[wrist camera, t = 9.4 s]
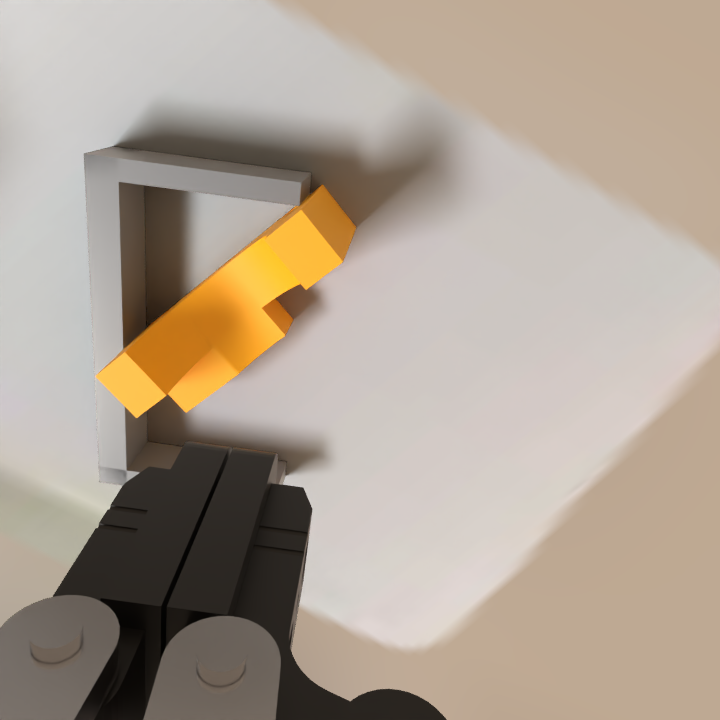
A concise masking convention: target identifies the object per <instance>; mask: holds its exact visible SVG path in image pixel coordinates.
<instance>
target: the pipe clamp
mask: <svg viewBox="0 0 720 720" xmlns="http://www.w3.org/2000/svg"><path fill="white" fill-rule="evenodd" d="M355 230H356V226H355V225H354V224H353V223H352V221H351V220H350V219H349V218H348V216H347V215H346V214H345V212H344V211H343V210H342V209H341V207H340V206H339V205H338V203H337V202H336V201H335V200H334V198H333V197H332V196H331V194H330V193H329V192H328V191H327V189H326V188H325V187H324V185H323V184H322V185H321V186H320V187H319V188H317V189H316V190H315V191H314V192H312V193H311V194H310V195H309V196H308V197H307V198H306V199H305V200H304V201H303V203H302V204H301V205H300V206H295V207H294V208H293V209H291V210H290V211H289V212H288V213H287V214H285V215H284V216H283V217H282V218H280V219H279V220H278V221H277V222H275V223H274V224H273V225H272V226H271V227H269V228H268V229H267V230H266V231H264V232H263V233H262V234H261V235H259V236H258V237H257V238H256V239H255V240H253V241H252V242H251V243H250V244H248V245H247V246H246V247H245V248H243V249H242V250H241V251H240V252H239V253H237V254H236V255H235V256H234V257H232V258H231V259H230V260H229V261H227V262H226V263H225V264H224V265H223V266H221V267H220V268H219V269H218V270H216V271H215V272H214V273H213V274H211V275H210V276H209V277H208V278H207V279H205V280H204V281H203V282H202V283H200V284H199V285H198V286H197V287H195V288H194V289H193V290H192V291H191V292H189V293H188V294H187V295H186V296H184V297H183V298H182V299H181V300H179V301H178V302H177V303H176V304H175V305H173V306H172V307H171V308H170V309H168V310H167V311H166V312H165V313H163V314H162V315H161V316H160V317H159V318H157V319H156V320H155V321H154V322H152V323H151V324H150V325H149V326H148V327H146V328H145V329H144V330H143V331H142V332H141V333H140V334H139V335H138V336H137V337H136V338H135V339H134V340H133V341H132V342H131V343H130V344H129V345H127V346H126V347H125V348H124V349H123V350H122V351H121V352H120V353H119V354H118V355H117V356H116V357H115V358H114V359H113V360H112V361H111V362H110V363H108V364H107V365H106V366H105V367H104V368H103V369H102V370H101V371H100V372H99V373H98V374H97V375H96V376H95V377H96V378H97V379H98V380H99V381H100V382H101V383H102V384H103V385H104V386H105V387H106V388H107V389H108V390H109V391H110V392H111V393H112V394H113V395H114V396H115V397H116V398H117V399H118V400H119V401H120V402H121V403H122V404H123V405H124V406H125V407H126V408H127V409H128V410H129V411H130V412H131V413H132V414H133V415H134V416H135V417H136V418H138V417H139V416H140V415H142V414H143V413H144V412H145V411H147V410H148V409H149V408H151V407H152V406H153V405H155V404H156V403H157V402H159V401H160V400H161V399H163V398H164V397H165V396H167V394H168V395H169V396H170V397H171V398H172V399H173V400H174V401H175V402H176V403H177V404H178V405H179V406H180V407H181V408H182V409H183V410H184V411H185V412H188V411H189V410H190V409H192V408H193V407H194V406H196V405H197V404H199V403H200V402H201V401H203V400H204V399H205V398H207V397H208V396H209V395H211V394H212V393H213V392H215V391H216V390H218V389H219V388H220V387H222V386H223V385H224V384H226V383H227V382H228V381H230V380H231V379H232V378H234V377H235V376H237V375H238V374H239V373H240V372H241V371H242V370H243V369H244V368H245V367H247V366H248V365H249V364H250V363H251V362H252V361H253V360H255V359H256V358H257V357H258V356H259V355H261V354H262V353H263V352H264V351H266V350H267V349H268V348H269V347H271V346H272V345H273V344H275V343H276V342H277V341H279V340H280V339H281V338H283V337H284V336H285V335H286V333H287V331H288V329H289V327H290V325H291V323H292V321H293V319H292V317H291V316H290V315H289V314H288V313H287V312H286V310H285V309H284V308H283V307H282V306H281V304H280V303H279V302H278V301H277V300H276V299H275V298H276V297H278V296H279V295H281V294H282V293H284V292H286V291H287V290H289V289H291V288H293V287H295V286H297V285H299V284H301V285H302V286H303V287H304V288H305V290H306V289H308V288H309V287H310V286H312V285H313V284H314V283H316V282H317V281H318V280H320V279H321V278H322V277H324V276H325V275H326V274H328V273H329V272H330V271H332V270H333V269H334V268H336V267H337V266H338V265H339V264H341V263H342V262H343V260H344V258H345V255H346V253H347V250H348V248H349V245H350V243H351V240H352V238H353V235H354V232H355Z"/></svg>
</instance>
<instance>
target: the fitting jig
mask: <svg viewBox="0 0 720 720" xmlns="http://www.w3.org/2000/svg"><path fill="white" fill-rule="evenodd" d="M84 168H85V189H86V210H87V231H88V252H89V273H90V295H91V316H92V337H93V358H94V379H95V400H96V421H97V443H98V464H99V482H102V483H108V484H115V485H122V486H123V485H124V483H126V482H127V481H129V480H130V479H131V478H133V477H134V476H136V475H137V474H139V473H140V472H142V471H143V470H145V469H146V468H148V467H149V466H150V467H157V468H164V469H171V467H172V466H173V464H174V462H175V460H176V458H177V456H178V455H179V453H180V451H181V449H182V446H175V445H168V444H161V443H154V442H147V411H145V412H144V413H143V414H142V415H140V416H139V417H138V418H136V417H135V416H134V415H133V414H132V413H131V412H130V411H129V410H128V409H127V408H126V407H125V406H124V405H123V404H122V403H121V402H120V401H119V400H118V399H117V398H116V397H115V396H114V395H113V394H112V393H111V392H110V391H109V390H108V389H107V388H106V387H105V386H104V385H103V384H102V383H101V382H100V381H99V380H98V379H97V378H96V377H95V376H96V375H97V374H98V373H99V372H100V371H101V370H102V369H103V368H104V367H105V366H106V365H107V364H108V363H110V362H111V361H112V360H113V359H114V358H115V357H116V356H117V355H118V354H119V353H120V352H121V351H122V350H123V349H124V348H125V347H126V346H127V345H129V344H130V343H131V342H132V341H133V340H134V339H135V338H136V337H137V336H138V335H139V334H140V333H141V332H142V331H143V330H144V329H145V328H146V279H145V198H144V185H147V186H154V187H161V188H169V189H176V190H184V191H191V192H199V193H206V194H213V195H221V196H228V197H236V198H243V199H250V200H258V201H265V202H273V203H280V204H287V205H295V206H300V205H301V204H302V203H303V201H304V200H305V199H306V198H307V197H308V196H309V194H310V184H311V173H309V172H301V171H294V170H286V169H279V168H272V167H264V166H257V165H249V164H242V163H234V162H227V161H219V160H212V159H204V158H197V157H189V156H182V155H174V154H167V153H159V152H152V151H144V150H137V149H129V148H122V147H114V146H112V147H108V148H104V149H100V150H96V151H92V152H88V153H84ZM285 474H286V462H285V461H278V464H277V475H276V484H280V485H283V482H284V479H285Z"/></svg>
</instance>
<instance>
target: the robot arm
mask: <svg viewBox="0 0 720 720" xmlns="http://www.w3.org/2000/svg"><path fill="white" fill-rule="evenodd" d="M277 464H278V454H277V453H272V452H265V451H257V450H250V449H243V448H236V447H234V448H233V449H232V448H231V447H228V446H220V445H213V444H206V443H199V442H192V441H187V442H186V443H185V444H184V445H183V447H182V449H181V451H180V453H179V455H178V456H177V458H176V460H175V462H174V464H173V466H172V467H171V469H164V468H157V467H150V466H149V467H148V468H146V469H145V470H143V471H142V472H140V473H139V474H137V475H136V476H134V477H133V478H131V479H130V480H129V481H127V482H126V483H124V485H123V486H122V488H121V490H120V491H119V493H118V494H117V496H116V497H115V499H114V501H113V502H112V504H111V507H110V510H107V512H106V513H105V515H104V516H103V518H102V520H101V521H100V523H99V527H98V528H96V529H95V531H94V532H93V534H92V535H91V537H90V538H89V540H88V542H87V543H86V545H85V546H84V548H83V550H82V551H81V553H80V554H79V556H78V557H77V559H76V561H75V562H74V564H73V565H72V567H71V568H70V570H69V572H68V573H67V575H66V576H65V578H64V580H63V581H62V583H61V584H60V586H59V587H58V589H57V591H56V592H55V594H54V595H53V597H51V598H47V599H43V600H41V601H38V602H35V603H33V604H31V605H29V606H27V607H25V608H23V609H22V610H20V611H18V612H17V613H16V614H14V615H13V616H12V617H10V618H9V619H8V620H7V621H6V622H5V623H4V624H3V625H2V627H1V628H0V720H446V718H445V717H444V716H443V715H442V714H441V713H440V712H439V711H438V710H437V709H436V708H435V707H434V706H432V705H431V704H430V703H429V702H427V701H425V700H424V699H422V698H420V697H418V696H416V695H414V694H411V693H409V692H405V691H401V690H393V689H380V690H374V691H370V692H367V693H365V694H362V695H360V696H358V697H356V698H355V699H353V700H352V701H351V702H350V701H348V700H346V699H344V698H342V697H340V696H337V695H335V694H333V693H331V692H329V691H327V690H325V689H323V688H322V687H320V686H318V685H317V684H315V683H314V682H313V681H311V680H310V679H309V678H308V677H307V676H306V675H305V674H304V673H303V672H302V671H301V669H300V668H299V666H298V665H297V664H296V661H295V659H294V657H293V655H292V652H291V647H292V642H293V636H294V630H295V625H296V619H297V614H298V607H299V602H300V597H301V591H302V585H303V579H304V571H305V563H306V555H307V547H308V540H309V532H310V524H311V516H312V507H311V505H310V502H309V500H308V498H307V495H306V493H305V491H304V488H302V487H295V486H288V485H280V484H276V475H277Z"/></svg>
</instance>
